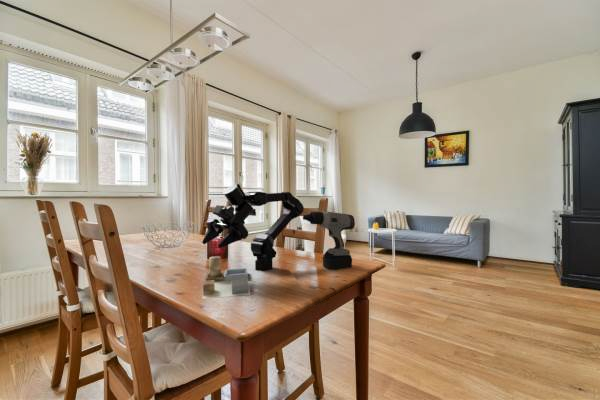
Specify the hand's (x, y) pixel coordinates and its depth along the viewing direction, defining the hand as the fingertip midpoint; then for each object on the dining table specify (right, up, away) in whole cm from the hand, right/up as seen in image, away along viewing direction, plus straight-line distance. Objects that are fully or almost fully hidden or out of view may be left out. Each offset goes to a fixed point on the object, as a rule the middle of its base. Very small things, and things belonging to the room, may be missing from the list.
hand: (210, 245), depth 91 cm
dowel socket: (0, -13, +6) cm, 15 cm away
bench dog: (+2, -14, -8) cm, 16 cm away
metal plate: (+11, -13, -6) cm, 18 cm away
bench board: (+6, -15, +1) cm, 16 cm away
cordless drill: (+44, -14, +24) cm, 52 cm away
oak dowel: (0, -13, +6) cm, 15 cm away
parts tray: (+7, -13, +8) cm, 17 cm away
